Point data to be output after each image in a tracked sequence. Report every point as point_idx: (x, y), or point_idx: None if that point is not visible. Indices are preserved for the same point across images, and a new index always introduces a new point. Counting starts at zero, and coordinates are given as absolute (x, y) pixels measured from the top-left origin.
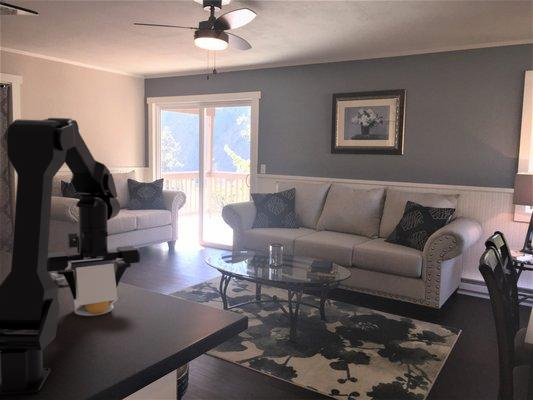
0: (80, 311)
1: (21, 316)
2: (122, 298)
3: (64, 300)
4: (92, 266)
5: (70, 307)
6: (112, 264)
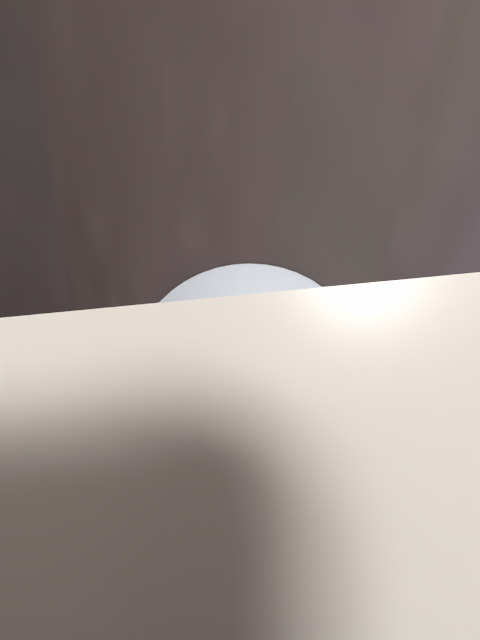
0: None
1: None
2: (470, 228)
3: (43, 108)
4: None
5: (105, 296)
6: None
